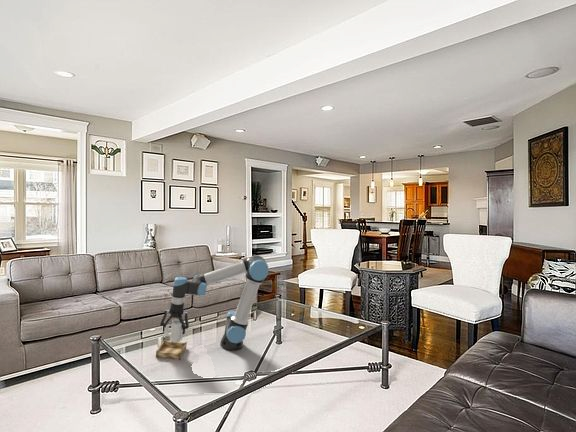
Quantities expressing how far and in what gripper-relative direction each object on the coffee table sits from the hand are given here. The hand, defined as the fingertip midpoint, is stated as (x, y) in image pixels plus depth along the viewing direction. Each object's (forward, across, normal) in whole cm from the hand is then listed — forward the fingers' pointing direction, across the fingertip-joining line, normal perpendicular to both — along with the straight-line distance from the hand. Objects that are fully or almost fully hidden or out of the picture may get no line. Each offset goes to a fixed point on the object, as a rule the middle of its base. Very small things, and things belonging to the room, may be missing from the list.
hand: (172, 337), depth 211 cm
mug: (+2, 0, 0) cm, 2 cm away
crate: (+10, 0, 0) cm, 10 cm away
